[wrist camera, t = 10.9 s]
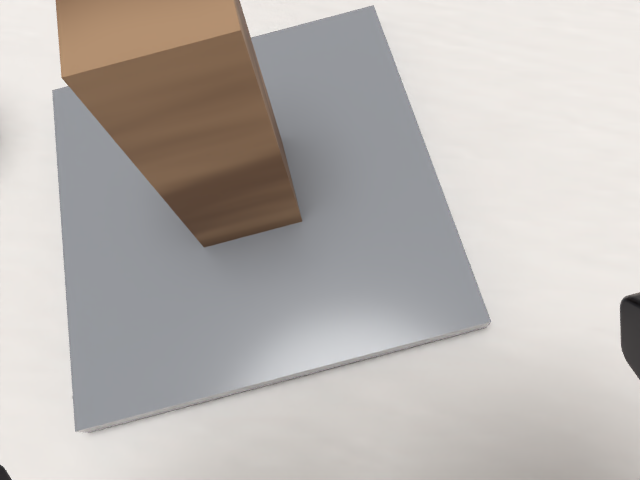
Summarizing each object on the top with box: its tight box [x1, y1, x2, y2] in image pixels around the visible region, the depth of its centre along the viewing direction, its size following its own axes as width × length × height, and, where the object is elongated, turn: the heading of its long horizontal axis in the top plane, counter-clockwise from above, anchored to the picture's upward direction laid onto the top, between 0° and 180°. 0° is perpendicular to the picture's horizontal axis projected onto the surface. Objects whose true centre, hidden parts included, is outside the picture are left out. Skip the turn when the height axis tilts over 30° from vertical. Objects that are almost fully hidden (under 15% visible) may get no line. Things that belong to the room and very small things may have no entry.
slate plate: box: [52, 5, 491, 433], centre depth 24 cm, size 16×16×1 cm
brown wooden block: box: [56, 0, 302, 247], centre depth 18 cm, size 4×4×11 cm
